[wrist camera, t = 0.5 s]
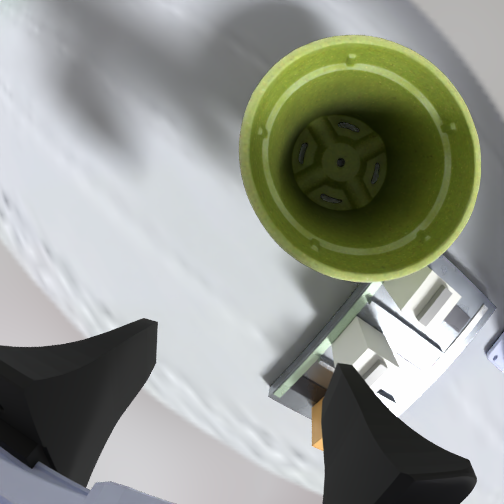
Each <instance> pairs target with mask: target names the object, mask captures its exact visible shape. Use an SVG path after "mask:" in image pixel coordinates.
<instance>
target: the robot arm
mask: <svg viewBox="0 0 504 504" xmlns="http://www.w3.org/2000/svg"><path fill="white" fill-rule="evenodd" d="M157 328H158V322H155V321H152V320H149V319H145V318H143V319H140V320H137V321H135V322H132V323H129V324H127V325H124V326H122V327H119V328H117V329H114V330H111V331H109V332H106V333H103V334H100V335H97V336H94V337H91V338H88V339H84V340H80V341H76V342H71V343H66V344H61V345H52V346H44V347H11V346H0V504H175V503H172V502H169V501H166V500H163V499H160V498H157V497H154V496H151V495H148V494H146V493H143V492H140V491H138V490H135V489H132V488H130V487H127V486H124V485H121V484H117V483H114V482H98V483H95V484H94V486H93V488H92V489H91V490H89V489H87V488H86V486H87V484H88V481H89V479H90V476H91V474H92V472H93V469H94V467H95V465H96V463H97V460H98V458H99V456H100V454H101V452H102V450H103V448H104V446H105V444H106V442H107V440H108V438H109V436H110V434H111V432H112V430H113V429H114V427H115V425H116V423H117V422H118V420H119V419H120V417H121V416H122V414H123V413H124V412H125V410H126V409H127V407H128V406H129V405H130V403H131V402H132V401H133V399H134V398H135V397H136V395H137V394H138V392H139V391H140V390H141V388H142V387H143V386H144V384H145V383H146V381H147V379H148V378H149V376H150V374H151V372H152V370H153V368H154V366H155V364H156V350H157ZM494 356H495V357H494ZM493 357H494V358H493ZM487 358H488V359H489V360H490V361H491V362H492V363H493V364H494V365H495V366H496V367H497V368H498V369H500V370H501V371H502V372H503V373H504V332H503V333H502V335H501V336H500V337H499V339H498V340H497V341H496V342H495V344H494V345H493V346H492V347H491V349H490V350H489V351H488V352H487ZM321 427H322V439H323V451H324V464H325V480H324V495H323V504H460V503H461V502H462V501H463V500H464V499H465V498H466V497H467V496H468V495H469V494H470V493H471V491H472V490H473V488H474V487H475V485H476V482H477V477H476V475H475V473H474V470H473V468H472V466H471V463H470V461H469V460H468V459H465V458H463V457H461V456H458V455H456V454H453V453H451V452H449V451H446V450H445V449H443V448H441V447H439V446H437V445H435V444H433V443H432V442H430V441H428V440H427V439H425V438H424V437H422V436H421V435H419V434H418V433H417V432H415V431H414V430H412V429H411V428H410V427H409V426H407V425H406V424H405V423H404V422H403V421H401V420H400V419H399V418H398V417H397V416H396V415H395V414H394V413H393V412H392V411H391V410H390V409H389V408H388V407H387V406H386V405H385V404H384V403H383V402H382V401H381V400H380V399H379V397H378V396H377V395H376V394H375V393H374V391H373V390H372V389H371V388H370V387H369V385H368V384H367V383H366V382H365V380H364V379H363V378H362V376H361V375H360V374H359V373H358V371H357V370H356V369H355V368H354V367H353V365H349V364H343V363H337V365H336V368H335V370H334V373H333V375H332V378H331V381H330V383H329V386H328V388H327V391H326V393H325V396H324V398H323V401H322V414H321Z"/></svg>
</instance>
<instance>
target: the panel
mask: <svg viewBox="0 0 504 504" xmlns="http://www.w3.org/2000/svg"><path fill="white" fill-rule="evenodd" d="M427 266H428V267H429V268H430V269H431V270H432V271H434V272H435V273H436V274H437V275H438V276H439V277H440V278H441V279H443V280H444V281H445V282H446V283H447V284H448V285H449V286H450V287H452V288H453V289H454V290H455V291H456V292H457V293H458V294H459V295H460V296H461V298H460V300H459V301H458V302H457V303H456V305H455V306H454V307H453V309H452V310H451V311H450V312H449V314H448V315H447V316H446V317H445V319H444V320H443V321H442V322H441V324H440V325H439V326H438V327H437V328H436V330H435V331H434V332H433V333H432V334H431V333H429V332H428V331H427V330H425V329H424V328H423V327H421V326H420V325H419V324H418V323H416V322H415V321H414V320H412V319H411V318H410V317H408V316H407V315H406V314H404V313H403V312H402V311H400V309H399V308H398V306H397V305H396V303H395V302H394V300H393V299H392V297H391V296H390V294H389V293H388V291H387V290H386V289H385V287H384V286H383V283H384V281H381V282H372V283H367V282H361V283H360V284H359V286H358V287H357V288H356V289H355V291H354V292H353V293H352V294H351V296H350V297H349V298H348V299H347V301H346V302H345V303H344V304H343V305H342V307H341V308H340V309H339V310H338V312H337V313H336V314H335V315H334V316H333V318H332V319H331V320H330V321H329V322H328V323H327V325H326V326H325V327H324V328H323V329H322V330H321V332H320V333H319V334H318V335H317V336H316V337H315V339H314V340H313V341H312V342H311V343H310V344H309V345H308V346H307V348H306V349H305V350H304V351H303V352H302V353H301V354H300V355H299V356H298V358H297V359H296V360H295V361H294V362H293V363H292V364H291V365H290V366H289V367H288V368H287V370H286V371H285V372H284V373H283V374H282V375H281V376H280V377H279V378H278V379H277V380H276V381H275V382H274V383H273V384H272V385H271V386H270V389H269V396H268V397H270V398H272V399H273V400H275V401H277V402H279V403H281V404H283V405H284V406H286V407H288V408H290V409H292V410H294V411H296V412H298V413H300V414H302V415H303V416H305V417H307V418H309V419H311V420H312V407H313V406H314V405H315V404H317V403H318V402H319V401H320V400H321V399H322V398H323V397H324V396H325V393H326V391H327V388H328V386H329V383H330V381H331V378H332V375H333V373H334V370H335V366H334V359H333V353H332V347H331V345H332V343H333V342H334V341H335V340H336V339H337V338H338V337H339V336H340V334H341V333H342V332H343V331H344V330H345V329H346V328H347V326H348V325H349V324H350V323H351V322H352V321H353V319H354V318H355V317H356V316H358V317H359V318H361V319H362V320H363V321H365V322H366V323H368V324H369V325H371V326H372V327H374V328H375V329H377V330H378V331H379V332H381V333H382V334H384V335H385V337H386V339H387V341H388V343H389V345H390V347H391V349H392V352H393V354H394V356H395V358H396V360H397V362H398V365H399V367H400V370H399V371H398V372H397V373H396V374H395V375H394V376H393V377H392V378H391V379H390V380H389V381H388V382H387V383H386V384H385V385H384V386H383V387H382V388H381V389H379V390H378V391H377V392H376V393H375V394H376V395H377V396H378V397H379V399H380V400H381V401H382V402H383V403H384V404H385V405H386V406H387V407H388V408H389V409H390V410H391V411H392V412H393V413H394V414H395V415H396V416H397V417H398V416H399V415H400V414H401V413H402V412H403V411H404V410H405V409H407V408H408V407H409V406H410V405H411V404H412V403H413V402H414V401H415V400H416V399H417V398H418V397H419V396H420V395H421V394H422V393H423V392H424V391H425V390H426V389H427V388H428V387H429V386H430V385H431V384H432V383H433V382H434V381H435V380H436V379H437V378H438V377H439V376H440V375H441V374H442V373H443V372H444V371H445V370H446V369H447V368H448V367H449V365H450V364H451V363H452V362H453V361H454V360H455V359H456V358H457V357H458V355H459V354H460V353H461V352H462V351H463V350H464V349H465V347H466V346H467V345H468V344H469V343H470V341H471V340H472V339H473V338H474V337H475V335H476V334H477V333H478V332H479V330H480V329H481V328H482V326H483V325H484V324H485V323H486V321H487V320H488V319H489V317H490V316H491V315H492V313H493V312H494V311H495V309H496V306H495V305H494V304H493V303H492V302H491V301H490V300H489V299H488V298H487V297H486V296H485V295H484V294H483V293H482V292H481V291H480V290H479V289H478V288H477V287H476V286H475V285H474V284H473V283H472V282H471V281H470V280H469V279H468V278H467V277H466V276H465V275H464V274H463V273H462V272H461V271H460V270H459V269H458V268H457V267H456V266H455V265H454V264H452V263H451V262H450V261H449V260H448V259H447V258H446V257H445V256H444V255H443V254H442V255H441V256H440V257H439V258H438V259H436V260H435V261H434V262H432V263H430V264H429V265H427Z"/></svg>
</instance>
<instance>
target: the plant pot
mask: <svg viewBox="0 0 504 504" xmlns="http://www.w3.org/2000/svg"><path fill="white" fill-rule="evenodd" d="M340 122H347V123H349V124H352V125H355V126H356V127H357V128H358V129H359V132H355V131H352V130H350V129H348V128H341V127H339V126H338V123H340ZM304 143H308V145H307V148H306V151H305V154H304V161H303V164H301V163H300V162H299V153H300V148H301V145H302V144H304ZM339 158H342V159H344V161H345V163H344V166H342V167H339V166H338V165H337V160H338V159H339ZM239 161H240V169H241V175H242V179H243V184H244V187H245V190H246V193H247V196H248V199H249V201H250V203H251V206H252V207H253V209H254V211H255V213H256V215H257V217H258V218H259V220H260V222H261V223H262V225H263V226H264V228H265V229H266V231H267V232H268V233H269V235H270V236H271V237H272V238H273V239H274V241H275V242H276V243H277V244H278V245H279V246H280V247H281V248H282V249H283V250H284V251H286V252H287V253H288V254H289V255H291V256H292V257H293V258H295V259H296V260H297V261H299V262H300V263H302V264H304V265H305V266H307V267H309V268H311V269H313V270H315V271H317V272H320V273H322V274H324V275H327V276H330V277H333V278H337V279H341V280H347V281H352V282H367V283H372V282H381V281H388V280H392V279H397V278H401V277H404V276H407V275H410V274H412V273H414V272H417V271H419V270H421V269H422V268H424V267H426V266H427V265H429V264H430V263H432V262H434V261H435V260H436V259H438V258H439V257H440V256H441V255H442V254H443V253H444V252H445V251H446V250H447V249H448V248H449V247H450V246H451V245H452V243H453V242H454V241H455V240H456V239H457V237H458V236H459V235H460V233H461V232H462V230H463V229H464V227H465V226H466V224H467V222H468V220H469V218H470V216H471V214H472V211H473V209H474V205H475V202H476V198H477V194H478V191H479V186H480V178H481V152H480V145H479V139H478V134H477V131H476V128H475V125H474V123H473V119H472V117H471V115H470V112H469V110H468V107H467V105H466V104H465V102H464V100H463V98H462V97H461V95H460V94H459V92H458V91H457V89H456V88H455V87H454V85H453V84H452V83H451V81H450V80H449V79H448V78H447V77H446V76H445V75H444V74H443V73H442V72H441V71H440V70H439V69H438V68H437V67H436V66H435V65H433V64H432V63H431V62H430V61H428V60H427V59H426V58H424V57H423V56H421V55H420V54H418V53H416V52H415V51H413V50H411V49H409V48H407V47H404V46H402V45H400V44H398V43H395V42H392V41H389V40H385V39H382V38H378V37H372V36H365V35H342V36H333V37H328V38H324V39H320V40H317V41H314V42H311V43H309V44H306V45H304V46H302V47H299V48H297V49H295V50H294V51H292V52H291V53H289V54H288V55H286V56H285V57H283V58H282V59H281V60H279V61H278V62H277V63H276V64H275V65H274V66H273V67H271V69H270V70H269V71H268V72H267V73H266V74H265V76H264V77H263V78H262V79H261V81H260V82H259V84H258V85H257V87H256V88H255V90H254V92H253V93H252V96H251V98H250V100H249V102H248V105H247V107H246V111H245V114H244V117H243V121H242V126H241V131H240V138H239ZM375 163H378V164H379V165H380V169H379V177H378V179H377V181H376V183H375V184H372V183H371V179H372V177H373V174H374V170H375ZM321 194H325V195H327V196H330V197H332V198H337V199H338V200H339V199H341V200H342V202H340V203H329V202H327V201H324V200H323V199H321V197H320V196H321Z"/></svg>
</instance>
